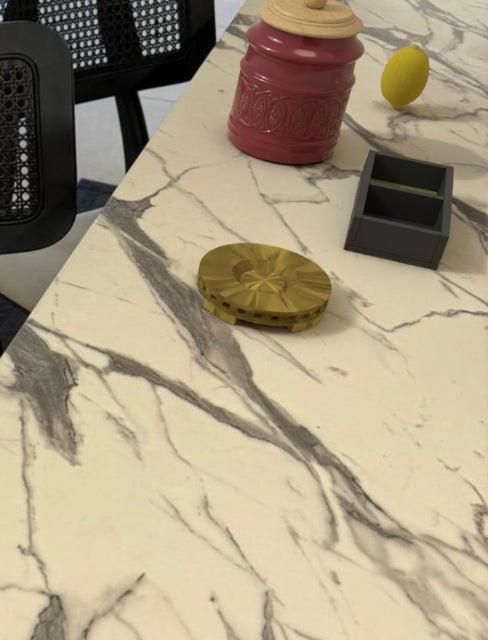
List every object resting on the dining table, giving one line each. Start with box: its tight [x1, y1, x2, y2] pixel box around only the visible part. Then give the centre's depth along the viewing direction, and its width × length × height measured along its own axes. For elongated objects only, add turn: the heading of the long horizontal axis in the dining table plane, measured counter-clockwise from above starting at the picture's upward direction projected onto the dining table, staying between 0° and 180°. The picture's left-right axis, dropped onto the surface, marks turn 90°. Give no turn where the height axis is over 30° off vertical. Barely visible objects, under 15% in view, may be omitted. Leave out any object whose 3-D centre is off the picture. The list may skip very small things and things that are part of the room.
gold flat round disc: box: [195, 242, 333, 333], centre depth 93 cm, size 12×12×2 cm
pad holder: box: [343, 149, 455, 271], centre depth 106 cm, size 9×17×4 cm, turn 160°
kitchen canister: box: [226, 0, 366, 165], centre depth 115 cm, size 13×13×18 cm
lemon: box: [380, 43, 430, 110], centre depth 129 cm, size 6×6×8 cm
